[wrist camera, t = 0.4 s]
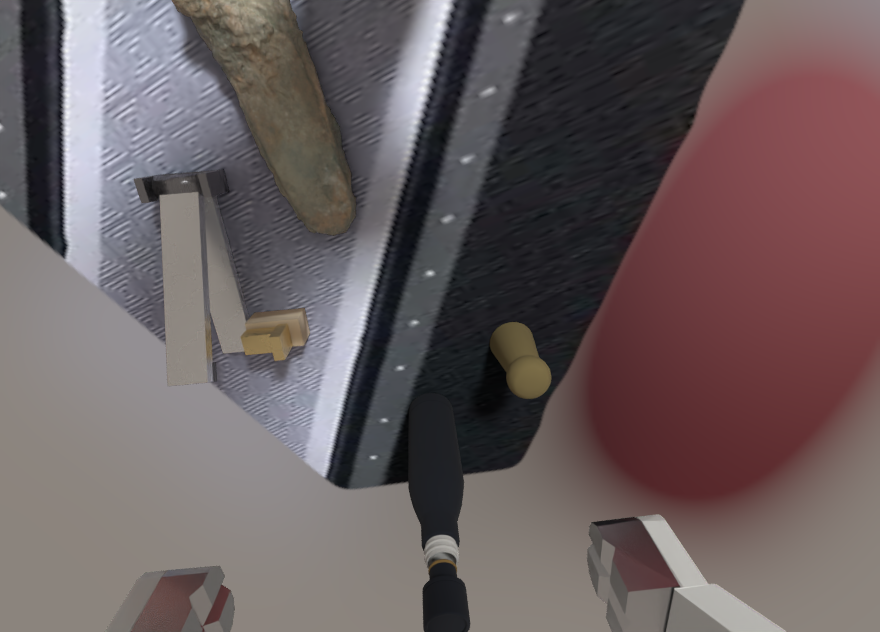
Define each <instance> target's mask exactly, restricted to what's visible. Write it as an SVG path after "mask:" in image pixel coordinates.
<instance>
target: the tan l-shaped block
mask: <svg viewBox="0 0 880 632" xmlns="http://www.w3.org/2000/svg"><path fill="white" fill-rule="evenodd" d="M240 338H241V341H242V345H243V348H244V352H245V355H253V354H263V353H273V357H274V360H275V361H279V360H285V359H286V357H287V355H288V354H289V352H290V350H291V348H292V346H293V344H292V340H291V336H290V331H289V327H288V324H278V325H277V326H276V327H270V328H260V329H249V330H246V331H245V332H244V333H243V334H242V336H241V337H240Z"/></svg>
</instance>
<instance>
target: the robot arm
mask: <svg viewBox="0 0 880 632" xmlns="http://www.w3.org/2000/svg"><path fill="white" fill-rule="evenodd" d="M589 536H590V538H591V541H592V545H591V546H590V547H589V548H588V551H587V562H588V568H589V574H590V577H591V581H592V584H593V587H594V589H595V591H596V594H597V596H598V597H599V598H600V599H601V600H602V601H604V602H605V603H606V604H607V613H606V619H607V621H608V624H609V626H610V628H611V631H612V632H786V631H785V630H783V629H782V628H780V627H779V626H778V625H776V624H775V623H773V622H772V621H770V620H769V619H767V618H766V617H764V616H763V615H761V614H760V613H758V612H757V611H755V610H754V609H752V608H751V607H749V606H748V605H746V604H745V603H744V602H742V601H740V600H739V599H738V598H736V597H735V596H733V595H732V594H730V593H729V592H727V591H726V590H724V589H723V588H721V587H720V586H718V585H717V584H708V583H707V581H706V580H705V578H704V577H703V576H702V574H701V573H700V571H699V570H698V568H697V567H696V565H695V564H694V562H693V561H692V559H691V558H690V556H689V555H688V553H687V552H686V550H685V549H684V547H683V546H682V544H681V543H680V541H679V540H678V538H677V537H676V535H675V534H674V532H673V531H672V530H671V528H670V526H669V525H668V524H667V522H666V521H665V519H664V518H663V517H661V516H660V515H650V516H642V517H629V518H621V519H613V520H606V521H598V522H592V523H591V524H590V526H589ZM224 577H225V576H224V574H223V571H222V569H221V567H220V566H212V567H200V568H189V569H176V570H166V571H156V572H146V573H144V574H143V575H142V576H141V577H140V578H139V579H137V581H136V582H135V584H134V585H133V587H132V589H131V590H130V592H129V594H128V595H127V597H126V598H125V600H124V601H123V603H122V605H121V606H120V608H119V610H118V611H117V613H116V614H115V616H114V618H113V619H112V621H111V623H110V624H109V626H108V627H107V629H106V631H105V632H230V630H231V627H232V624H233V617H234V610H235V608H234V598H233V595H232V593H231V590H229V589H228V588H226V587H224V586H223V585H222V582H223V579H224Z"/></svg>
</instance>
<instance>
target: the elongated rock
mask: <svg viewBox="0 0 880 632" xmlns="http://www.w3.org/2000/svg"><path fill="white" fill-rule="evenodd" d="M172 2H173V3H174V5H175V7H176V9H177V11H179V12H181V13H182V14H183V15H185V16H188V17H190V18H191V19H192V22H193V23H194V25H195V26H196V29H197V31H198V33H199V35H200V36H201V38H202V39H203V40H204V41H205V43H206V44H207V46H208V48H209V49H210V50H211V51H212V52H213V53H212V54H213V57H214V59H215V60H216V61H217V62H218V64H219V65H220V66H221V67H222V70H223V71H224V73H225V74H226V76H227V79H228V80H229V81H230V83H231V85H232V86H233V88H234V90H235V92H236V94H237V97H238V100H239V104H240V107H241V109H242V110H243V112H244V115H245V119H246V121H247V124H248V126H249V128H250V130H251V133H252V135H253V138H254V140H255V142H256V145H257V146H258V149H259V151H260V154H261V156H262V157H263V158H264V159H265V161H266V164H267V167H268V168H269V170H270V171H271V172H272V173H273V175H274V180H275V182H276V185H277V186H278V188H279V192H280V193H281V194H282V195H283V196H284V197H286V198H287V199H288V202H289V204H290V205H291V206H292V208H293V210H294V211H295V213H296V214H297V218H298V219H299V220H302V222H303V223H304V225H305V226H306V228H307V229H308V230H309V232H312V233H316V232H318V233H322V234H328V235H333V236H335V235H336V234H341V233H346V231H347V230H348V228H349V227H350V224H351V223H352V222H353V220H354V218H355V217H356V197H355V196H354V194H353V192H352V189H351V179H352V178H351V177H352V175H351V171H350V168H349V165H348V164H347V161H346V159H345V153H344V150H343V149H342V140H341V134H340V126H339V125H338V123H337V122H336V119H335V117H334V116H333V115H332V113H331V109H330V108H329V107H328V106H327V104H326V102H325V97H324V94H323V91H322V88H321V86H320V83H319V78H318V74H317V72H316V68H315V66H314V64H313V62H312V60H311V57H310V54H309V51H308V48H307V45H306V42H305V41H304V39H303V38H302V34H303V32H302V31H301V30H299V27H298V23H297V20H296V14H295V13H294V12H293V10H292V7H291V4H290V0H172Z"/></svg>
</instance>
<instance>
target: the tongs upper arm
mask: <svg viewBox="0 0 880 632" xmlns="http://www.w3.org/2000/svg"><path fill="white" fill-rule="evenodd" d="M152 189H153V192H154V194H155V195H156V197H157V198H159V199H160V217H161V241H162V264H163V288H164V311H165V335H166V358H167V381H168V386H176V385H186V384H197V383H207V382H215V381H217V372H216V362H213V359H212V340H211V321H210V301H209V282H208V262H207V243H206V223H205V204H204V196H203V192H202V189H201V185H200V181H199V178H198V173H190V174H178V175H165V176H155V177H153V179H152Z"/></svg>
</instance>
